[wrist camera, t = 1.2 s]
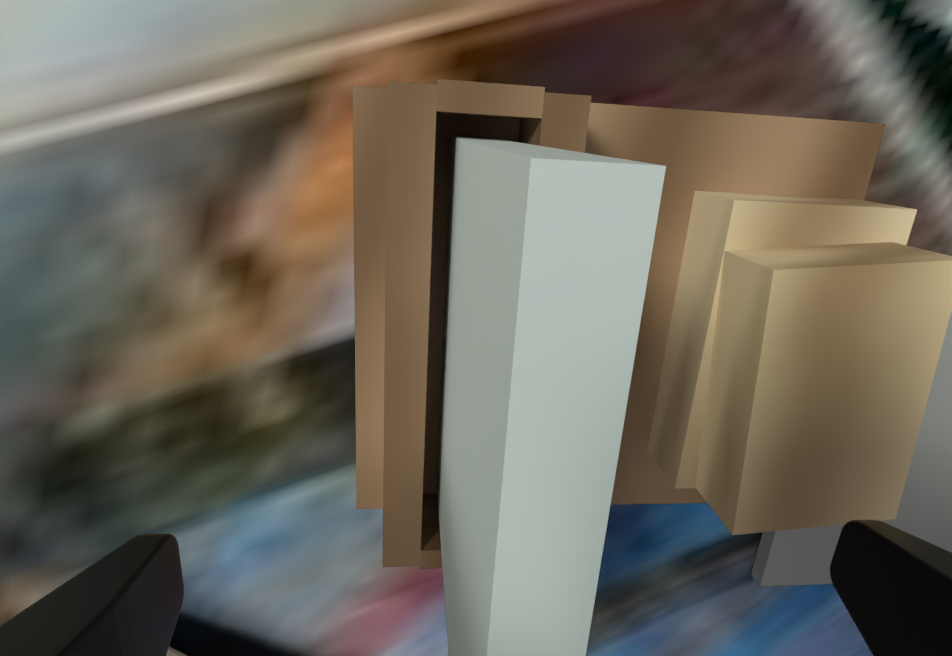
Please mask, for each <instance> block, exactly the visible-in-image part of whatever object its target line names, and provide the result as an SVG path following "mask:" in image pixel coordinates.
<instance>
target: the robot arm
mask: <svg viewBox="0 0 952 656" xmlns="http://www.w3.org/2000/svg"><path fill="white" fill-rule="evenodd" d="M830 577H831V581H832V584H833V586H834V588H835V589H836V591H837V593H838V595H839V596H840V598H841V600H842V602H843V603H844V605H845V607H846V609H847V610H848V612H849V614H850V616H851V617H852V619H853V621H854V623H855V624H856V626H857V628H858V630H859V631H860V633H861V635H862V637H863V638H864V640H865V642H866V644H867V645H868V647H869V649H870V651H871V652H872V654H873V656H952V552H950V551H947V550H945V549H943V548H941V547H938V546H936V545H934V544H932V543H929V542H927V541H925V540H923V539H920V538H918V537H916V536H914V535H911V534H909V533H907V532H905V531H903V530H900V529H898V528H896V527H894V526H891V525H889V524H887V523H885V522H882V521H879V520H851V521H848V522H847V523H846V524H845V525H844V526H843V528H842V530H841V533H840V536H839V539H838V542H837V545H836V548H835V551H834V554H833V557H832V561H831V564H830ZM183 596H184V584H183V577H182V569H181V562H180V555H179V547H178V542H177V540H176V538H175V537H174V536H173V535H171V534H143V535H138V536H136V537H134V538H132V539H131V540H129V541H128V542H126V543H125V544H123V545H121V546H120V547H118V548H117V549H115V550H114V551H112V552H111V553H109V554H108V555H106V556H105V557H103V558H102V559H100V560H99V561H97V562H96V563H94V564H93V565H91V566H90V567H88V568H87V569H85V570H84V571H82V572H81V573H79V574H78V575H76V576H75V577H73V578H72V579H70V580H69V581H67V582H66V583H64V584H63V585H61V586H60V587H58V588H57V589H55V590H54V591H52V592H51V593H49V594H48V595H46V596H45V597H43V598H42V599H40V600H38V601H37V602H35V603H34V604H32V605H31V606H29V607H28V608H26V609H25V610H23V611H22V612H20V613H19V614H17V615H16V616H14V617H13V618H11V619H10V620H8V621H7V622H5V623H4V624H2V625H1V626H0V656H166V654H167V651H168V648H169V645H170V642H171V638H172V635H173V632H174V629H175V626H176V623H177V620H178V616H179V613H180V610H181V607H182V602H183Z"/></svg>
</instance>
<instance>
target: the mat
mask: <svg viewBox="0 0 952 656" xmlns="http://www.w3.org/2000/svg"><path fill="white" fill-rule="evenodd" d="M881 521H882V522H885V523H887V524H889V525H891V526H894V527H896V528H898V529H900V530H903V531H905V532H907V533H909V534H911V535H914V536H916V537H918V538H920V539H923V540H925V541H927V542H929V543H932V544H934V545H936V546H938V547H941V548H943V549H945V550H947V551H950V552H952V311H951V315H950V319H949V322H948V326H947V330H946V333H945V337H944V341H943V345H942V348H941V352H940V356H939V360H938V363H937V367H936V371H935V374H934V378H933V382H932V386H931V389H930V393H929V397H928V400H927V404H926V408H925V412H924V415H923V419H922V423H921V426H920V430H919V434H918V438H917V441H916V445H915V449H914V453H913V456H912V460H911V464H910V467H909V471H908V475H907V479H906V482H905V486H904V490H903V493H902V497H901V501H900V505H899V508H898V512H897V516H896V519H891V520H881ZM844 525H845V524H841V525H831V526H821V527H811V528H800V529H790V530H780V531H770V532H762V536H761V540H760V543H759V547H758V551H757V554H756V558H755V562H754V565H753V569H752V573H751V575H752V576H753V578H754V579H755V580H756V582H757V583H758V584H759V586H787V585H815V584H832V581H831V577H830V564H831V561H832V557H833V554H834V551H835V548H836V545H837V542H838V539H839V536H840V533H841V530H842V528H843V526H844Z"/></svg>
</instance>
